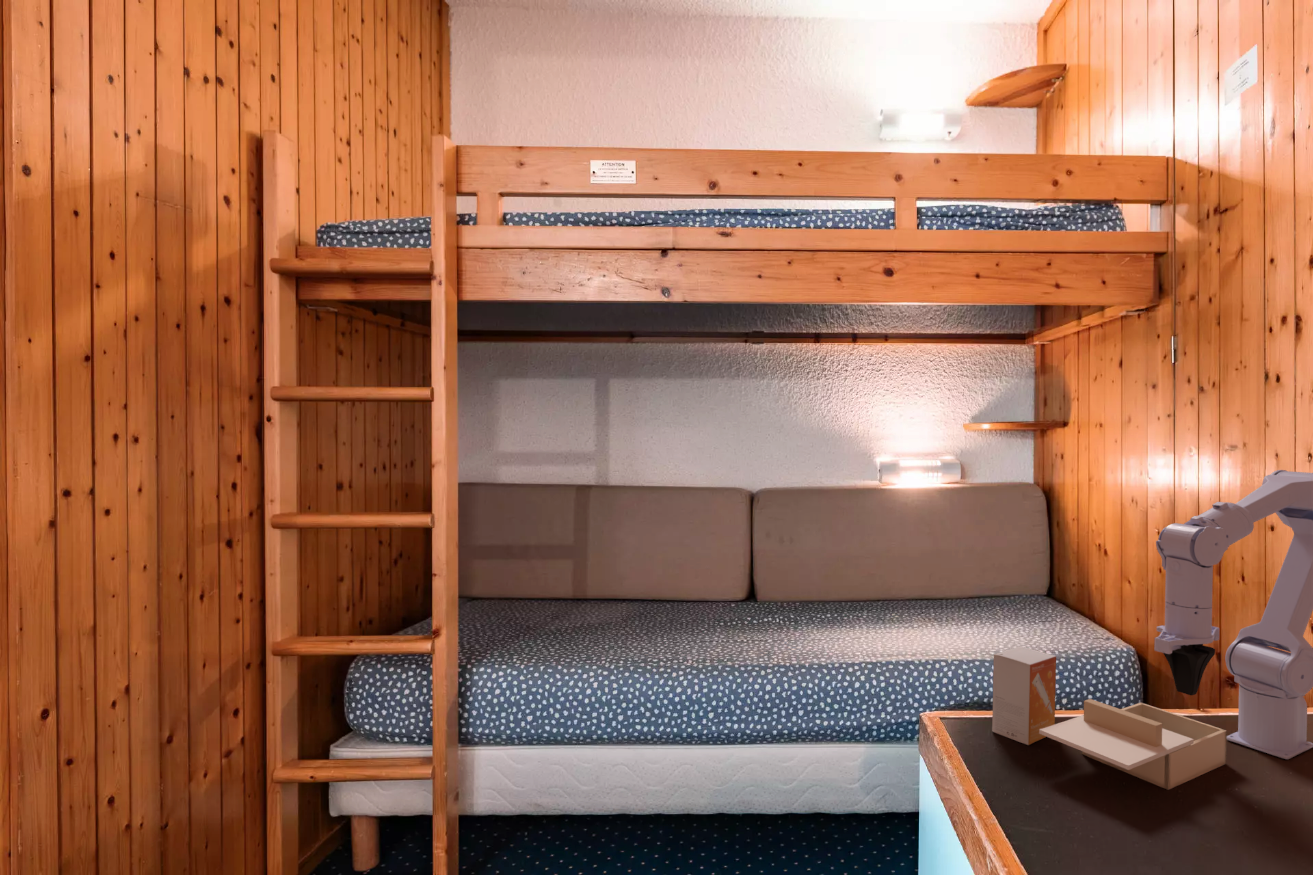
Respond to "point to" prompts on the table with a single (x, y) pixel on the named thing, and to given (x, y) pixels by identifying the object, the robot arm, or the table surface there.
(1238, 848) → the table surface
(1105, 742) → the lid
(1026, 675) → the small box
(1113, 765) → the box
